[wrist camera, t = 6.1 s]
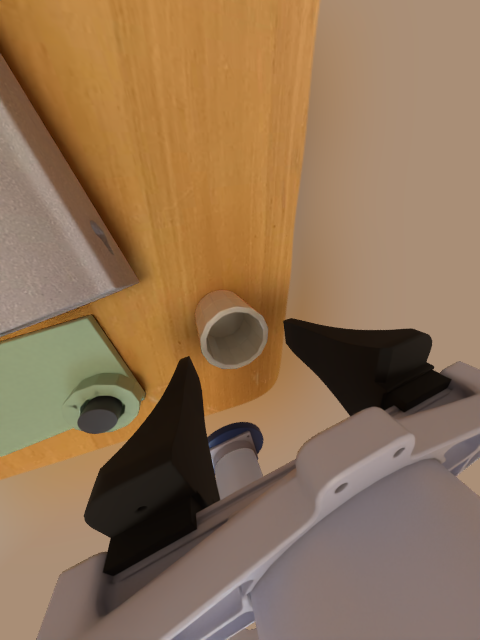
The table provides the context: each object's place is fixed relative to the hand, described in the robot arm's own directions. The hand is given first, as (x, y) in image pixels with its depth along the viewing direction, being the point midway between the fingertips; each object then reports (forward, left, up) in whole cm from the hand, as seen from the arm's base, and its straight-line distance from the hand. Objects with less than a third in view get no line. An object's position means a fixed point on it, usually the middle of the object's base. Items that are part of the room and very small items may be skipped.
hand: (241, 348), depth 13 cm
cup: (0, 0, -7) cm, 7 cm away
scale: (-1, +17, -7) cm, 18 cm away
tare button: (-4, +13, -5) cm, 14 cm away
